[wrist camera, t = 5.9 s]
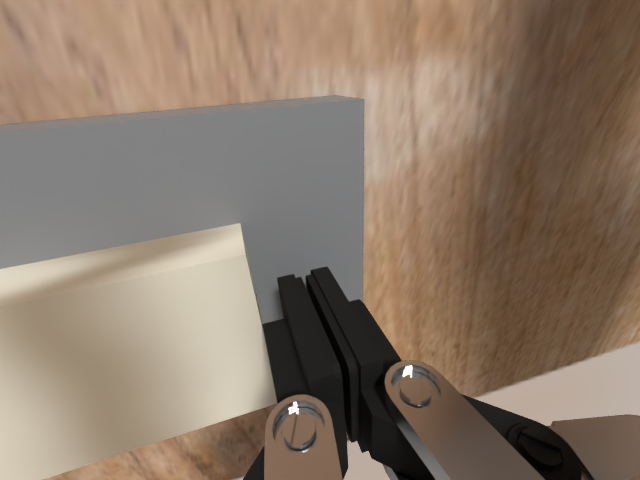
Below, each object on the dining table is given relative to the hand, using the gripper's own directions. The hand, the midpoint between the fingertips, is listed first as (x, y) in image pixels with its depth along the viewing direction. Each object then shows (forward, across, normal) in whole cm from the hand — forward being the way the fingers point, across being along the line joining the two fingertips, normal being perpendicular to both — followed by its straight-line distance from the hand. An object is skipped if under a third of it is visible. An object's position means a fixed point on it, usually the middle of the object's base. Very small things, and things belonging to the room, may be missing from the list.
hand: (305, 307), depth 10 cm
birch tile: (+1, +6, 0) cm, 6 cm away
